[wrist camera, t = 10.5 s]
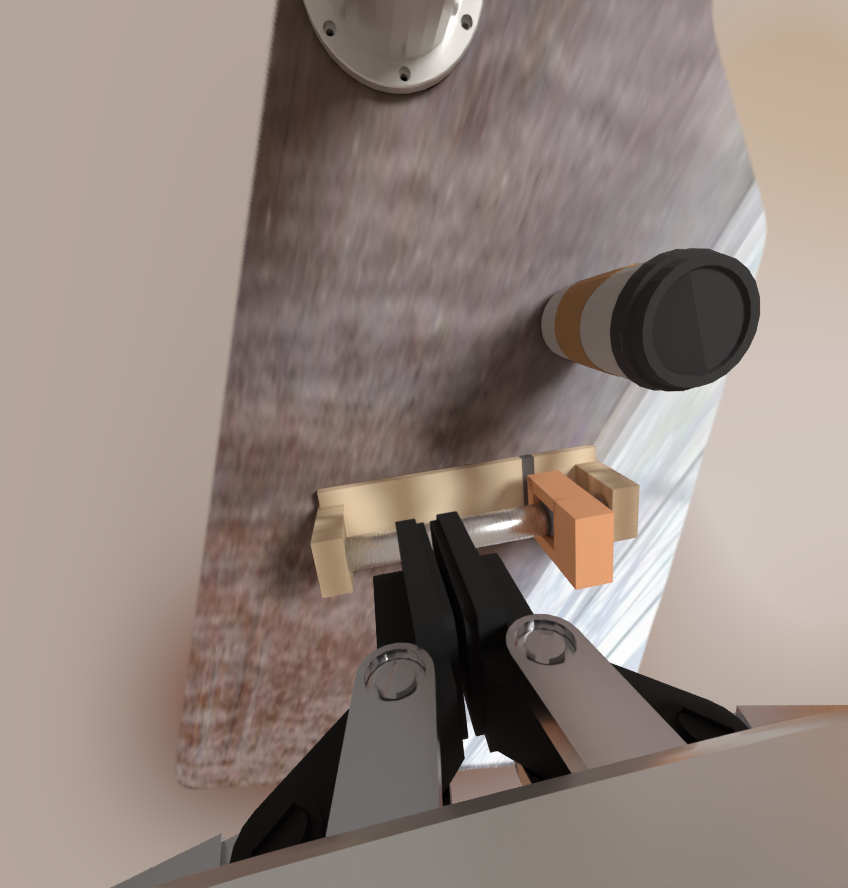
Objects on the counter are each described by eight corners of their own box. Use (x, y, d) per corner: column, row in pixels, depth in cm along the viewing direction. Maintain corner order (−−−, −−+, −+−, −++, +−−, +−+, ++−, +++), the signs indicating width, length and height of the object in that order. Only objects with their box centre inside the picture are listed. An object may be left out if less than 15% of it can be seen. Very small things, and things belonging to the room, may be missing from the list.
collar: (529, 532, 40) (575, 589, 32) (527, 475, 38) (575, 519, 30) (559, 527, 41) (612, 582, 32) (557, 469, 39) (614, 512, 30)
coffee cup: (543, 383, 39) (650, 419, 25) (515, 295, 36) (617, 279, 22) (623, 346, 39) (776, 362, 25) (602, 256, 36) (759, 216, 22)
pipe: (337, 563, 36) (335, 584, 33) (330, 530, 36) (328, 550, 32) (603, 513, 39) (624, 530, 36) (604, 482, 38) (625, 496, 35)
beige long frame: (331, 564, 41) (326, 613, 34) (315, 489, 38) (306, 526, 32) (593, 515, 44) (636, 552, 37) (593, 444, 41) (640, 468, 35)
